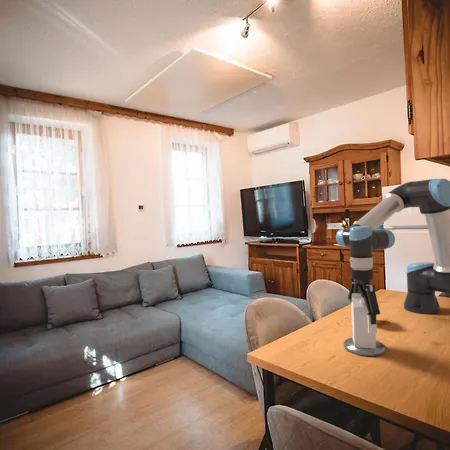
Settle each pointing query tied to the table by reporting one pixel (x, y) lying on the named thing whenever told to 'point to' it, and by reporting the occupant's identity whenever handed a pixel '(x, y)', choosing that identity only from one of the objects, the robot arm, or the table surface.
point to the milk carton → (361, 324)
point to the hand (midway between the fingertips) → (363, 325)
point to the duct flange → (364, 351)
